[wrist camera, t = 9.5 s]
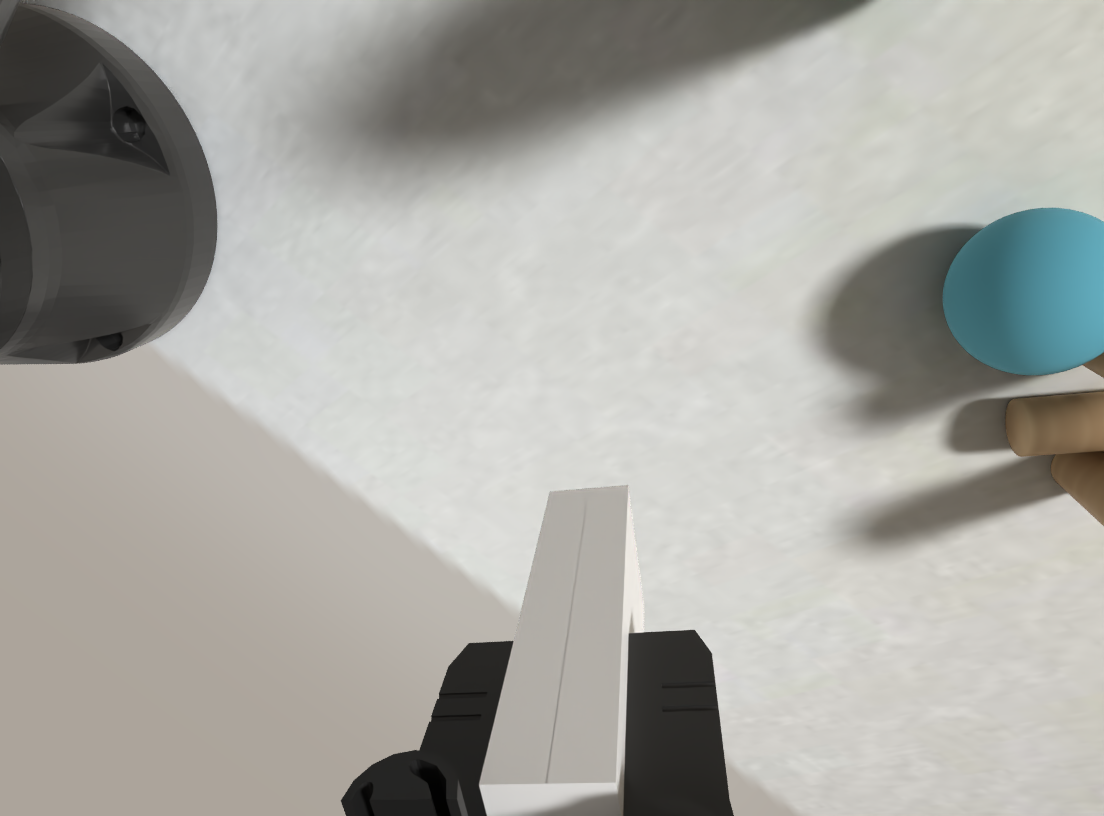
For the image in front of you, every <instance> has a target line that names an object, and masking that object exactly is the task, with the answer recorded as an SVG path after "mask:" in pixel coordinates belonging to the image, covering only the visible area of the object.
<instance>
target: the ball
mask: <svg viewBox="0 0 1104 816" xmlns="http://www.w3.org/2000/svg"><path fill="white" fill-rule="evenodd" d="M943 309H944V315H945V318H946V321H947V324H948V326H949V328H950V330H951V332H952V334H953V336H954V337H955V338H956V340H957V341H958V343H959V344H960V345H961V346H962V347H963V348H964V349H965V350H966V351H967V352H968V353H969V354H970V355H972V356H973V357H974V358H976V359H977V360H979V361H980V362H982V363H984V364H986V365H988V366H990V367H992V368H995V369H998V370H1001V371H1004V372H1008V373H1013V374H1020V375H1047V374H1054V373H1059V372H1063V371H1067V370H1070V369H1073V368H1076V367H1078V366H1081V365H1083V364H1085V363H1087V362H1089V361H1091V360H1093V359H1094V358H1096V357H1097V356H1099V355H1101V354H1102V353H1103V352H1104V222H1103V221H1101V220H1099V219H1097V218H1096V217H1093V216H1091V215H1088V214H1085V213H1083V212H1079V211H1074V210H1070V209H1062V208H1038V209H1030V210H1025V211H1021V212H1017V213H1014V214H1011V215H1008V216H1005V217H1003V218H1001V219H999V220H997V221H995V222H993V223H991V224H989V225H988V226H986V227H985V228H983V229H982V230H980V231H979V232H978V233H976V234H975V235H974V236H973V237H972V238H971V239H970V240H969V241H968V242H967V243H966V244H965V245H964V246H963V247H962V248H961V250H960V251H959V252H958V254H957V255H956V257H955V259H954V260H953V262H952V264H951V266H950V268H949V271H948V273H947V275H946V279H945V283H944V288H943Z"/></svg>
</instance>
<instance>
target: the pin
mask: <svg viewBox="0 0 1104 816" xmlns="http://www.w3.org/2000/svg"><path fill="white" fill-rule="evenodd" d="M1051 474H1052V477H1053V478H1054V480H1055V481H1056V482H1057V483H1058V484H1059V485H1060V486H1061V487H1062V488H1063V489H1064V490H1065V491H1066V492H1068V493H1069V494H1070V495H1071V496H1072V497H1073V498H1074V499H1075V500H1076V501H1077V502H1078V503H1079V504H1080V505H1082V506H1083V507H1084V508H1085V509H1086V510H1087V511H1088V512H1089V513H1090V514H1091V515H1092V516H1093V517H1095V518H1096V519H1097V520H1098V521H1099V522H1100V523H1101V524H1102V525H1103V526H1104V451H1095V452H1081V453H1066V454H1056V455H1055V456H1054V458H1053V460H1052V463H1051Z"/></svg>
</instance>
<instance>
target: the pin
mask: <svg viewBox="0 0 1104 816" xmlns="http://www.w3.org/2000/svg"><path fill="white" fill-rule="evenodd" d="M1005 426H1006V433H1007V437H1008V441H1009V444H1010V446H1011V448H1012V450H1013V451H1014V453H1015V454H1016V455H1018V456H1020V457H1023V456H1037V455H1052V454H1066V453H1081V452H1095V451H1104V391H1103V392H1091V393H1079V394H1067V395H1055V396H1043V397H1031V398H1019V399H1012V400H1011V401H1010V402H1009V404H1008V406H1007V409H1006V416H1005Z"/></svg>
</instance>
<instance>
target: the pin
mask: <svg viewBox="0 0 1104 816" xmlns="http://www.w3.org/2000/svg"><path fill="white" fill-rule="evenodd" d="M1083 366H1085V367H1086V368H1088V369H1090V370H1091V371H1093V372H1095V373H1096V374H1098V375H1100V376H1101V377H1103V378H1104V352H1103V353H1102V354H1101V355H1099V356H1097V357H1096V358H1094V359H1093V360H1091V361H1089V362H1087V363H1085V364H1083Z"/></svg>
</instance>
